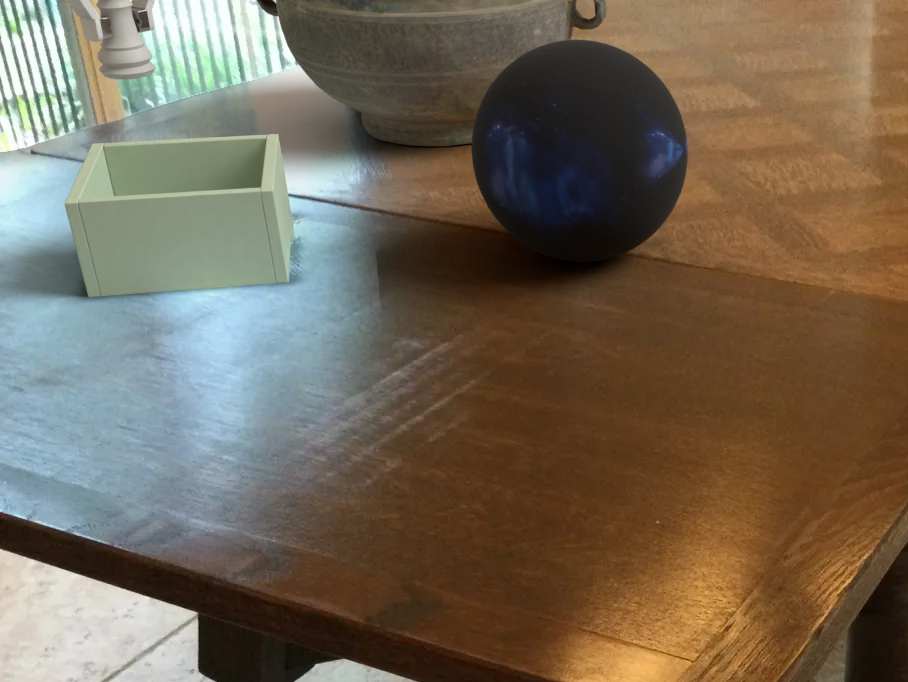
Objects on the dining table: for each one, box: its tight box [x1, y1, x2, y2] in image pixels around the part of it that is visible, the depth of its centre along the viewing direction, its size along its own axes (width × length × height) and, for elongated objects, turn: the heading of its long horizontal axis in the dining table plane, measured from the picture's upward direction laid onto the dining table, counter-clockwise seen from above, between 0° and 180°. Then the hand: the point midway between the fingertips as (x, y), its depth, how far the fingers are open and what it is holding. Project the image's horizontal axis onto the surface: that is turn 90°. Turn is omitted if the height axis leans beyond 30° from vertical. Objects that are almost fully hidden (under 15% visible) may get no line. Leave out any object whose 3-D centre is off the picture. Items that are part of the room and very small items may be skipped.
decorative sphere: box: [471, 39, 689, 263], centre depth 95 cm, size 15×15×15 cm
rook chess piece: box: [95, 0, 156, 81], centre depth 111 cm, size 4×4×8 cm
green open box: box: [64, 133, 296, 298], centre depth 93 cm, size 13×13×8 cm
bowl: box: [256, 0, 608, 147], centre depth 121 cm, size 32×26×15 cm
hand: (120, 35), depth 112 cm, fingers closed on rook chess piece, 3 cm apart
